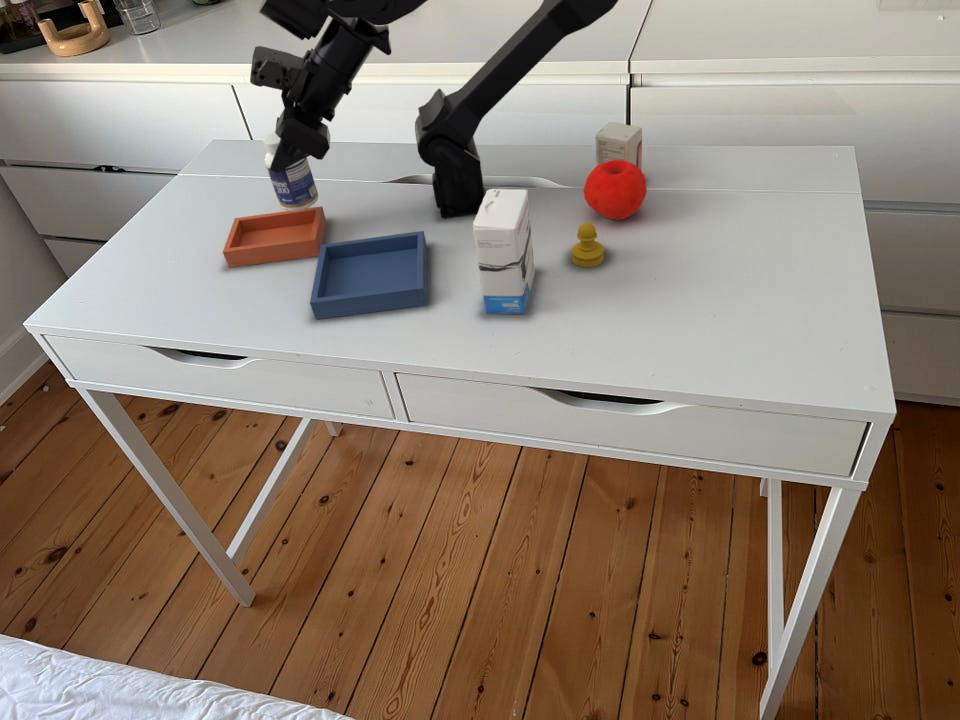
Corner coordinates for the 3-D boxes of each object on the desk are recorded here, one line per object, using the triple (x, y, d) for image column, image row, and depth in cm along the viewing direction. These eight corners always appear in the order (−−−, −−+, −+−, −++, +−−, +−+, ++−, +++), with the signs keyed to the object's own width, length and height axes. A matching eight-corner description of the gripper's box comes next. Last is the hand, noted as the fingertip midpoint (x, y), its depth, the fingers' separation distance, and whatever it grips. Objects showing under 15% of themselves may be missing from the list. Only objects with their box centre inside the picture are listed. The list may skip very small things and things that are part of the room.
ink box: (525, 315, 89) (516, 228, 81) (483, 314, 90) (470, 228, 82) (536, 272, 95) (528, 186, 87) (497, 271, 96) (485, 187, 88)
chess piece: (606, 250, 96) (606, 215, 93) (600, 268, 93) (599, 233, 90) (575, 248, 97) (574, 213, 94) (568, 266, 95) (566, 231, 91)
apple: (581, 230, 100) (578, 180, 95) (588, 199, 106) (587, 149, 101) (643, 232, 98) (644, 180, 93) (648, 199, 104) (649, 149, 99)
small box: (642, 179, 108) (643, 126, 103) (628, 194, 105) (628, 140, 100) (610, 172, 110) (610, 120, 105) (595, 186, 108) (594, 134, 103)
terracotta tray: (326, 221, 110) (322, 206, 108) (320, 255, 104) (315, 239, 102) (240, 233, 111) (234, 218, 109) (229, 267, 104) (222, 251, 102)
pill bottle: (273, 204, 106) (250, 138, 100) (306, 188, 108) (285, 122, 102) (292, 217, 103) (269, 150, 96) (326, 200, 105) (306, 133, 98)
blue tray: (427, 247, 102) (423, 230, 100) (426, 305, 92) (423, 287, 91) (326, 260, 102) (320, 244, 101) (315, 319, 93) (309, 302, 91)
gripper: (280, -2, 97) (225, 98, 104) (268, 50, 83) (206, 161, 90) (357, 49, 102) (300, 141, 110) (358, 106, 88) (292, 207, 96)
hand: (275, 160), depth 101 cm, fingers closed on pill bottle, 5 cm apart
